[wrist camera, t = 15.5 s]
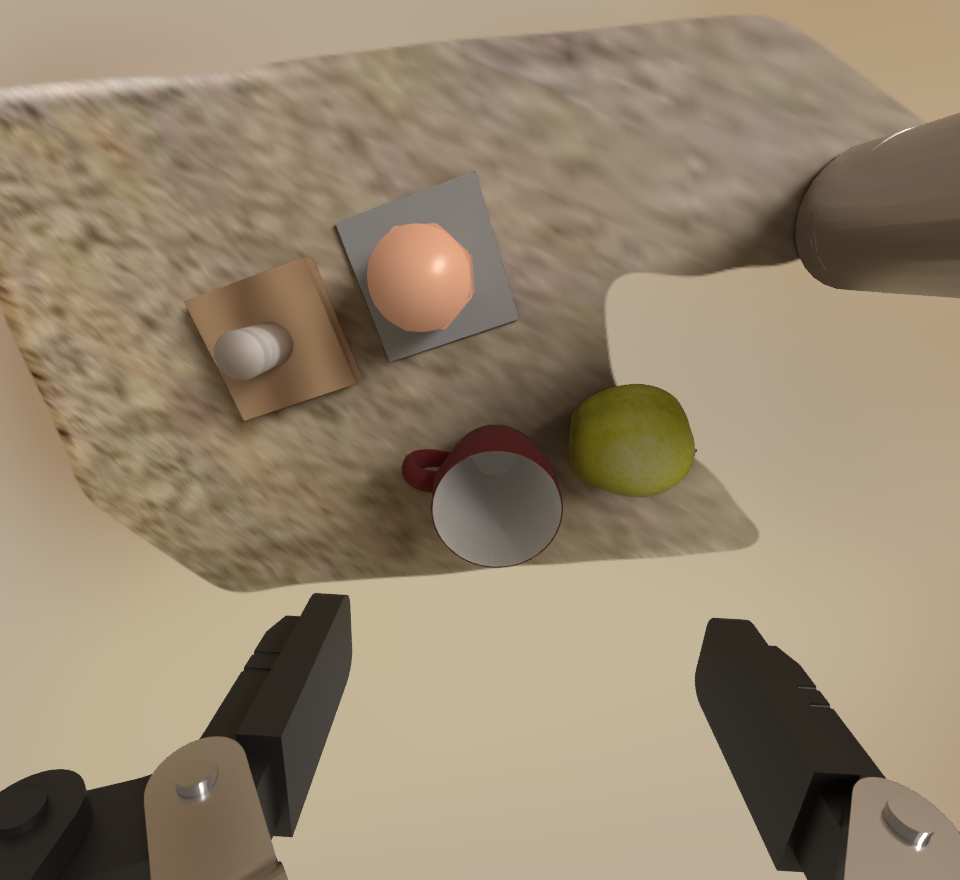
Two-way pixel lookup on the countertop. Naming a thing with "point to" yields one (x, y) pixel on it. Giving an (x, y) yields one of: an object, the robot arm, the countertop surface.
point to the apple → (631, 440)
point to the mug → (490, 496)
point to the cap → (420, 277)
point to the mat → (470, 226)
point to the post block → (275, 338)
